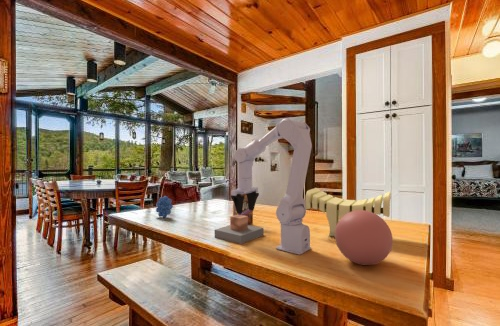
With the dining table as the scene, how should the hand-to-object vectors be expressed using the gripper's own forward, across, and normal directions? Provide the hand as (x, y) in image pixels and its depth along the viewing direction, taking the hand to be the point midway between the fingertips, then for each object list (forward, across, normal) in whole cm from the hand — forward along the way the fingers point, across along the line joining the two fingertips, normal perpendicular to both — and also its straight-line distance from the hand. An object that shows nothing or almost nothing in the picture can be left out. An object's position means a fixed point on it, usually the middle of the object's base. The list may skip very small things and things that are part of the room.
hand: (245, 211), depth 103 cm
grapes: (+10, 0, -58) cm, 59 cm away
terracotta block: (+7, +2, -2) cm, 7 cm away
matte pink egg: (+10, -2, +44) cm, 45 cm away
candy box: (+10, -12, -12) cm, 19 cm away
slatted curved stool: (+10, -26, +32) cm, 43 cm away
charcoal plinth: (+10, +2, -2) cm, 10 cm away
